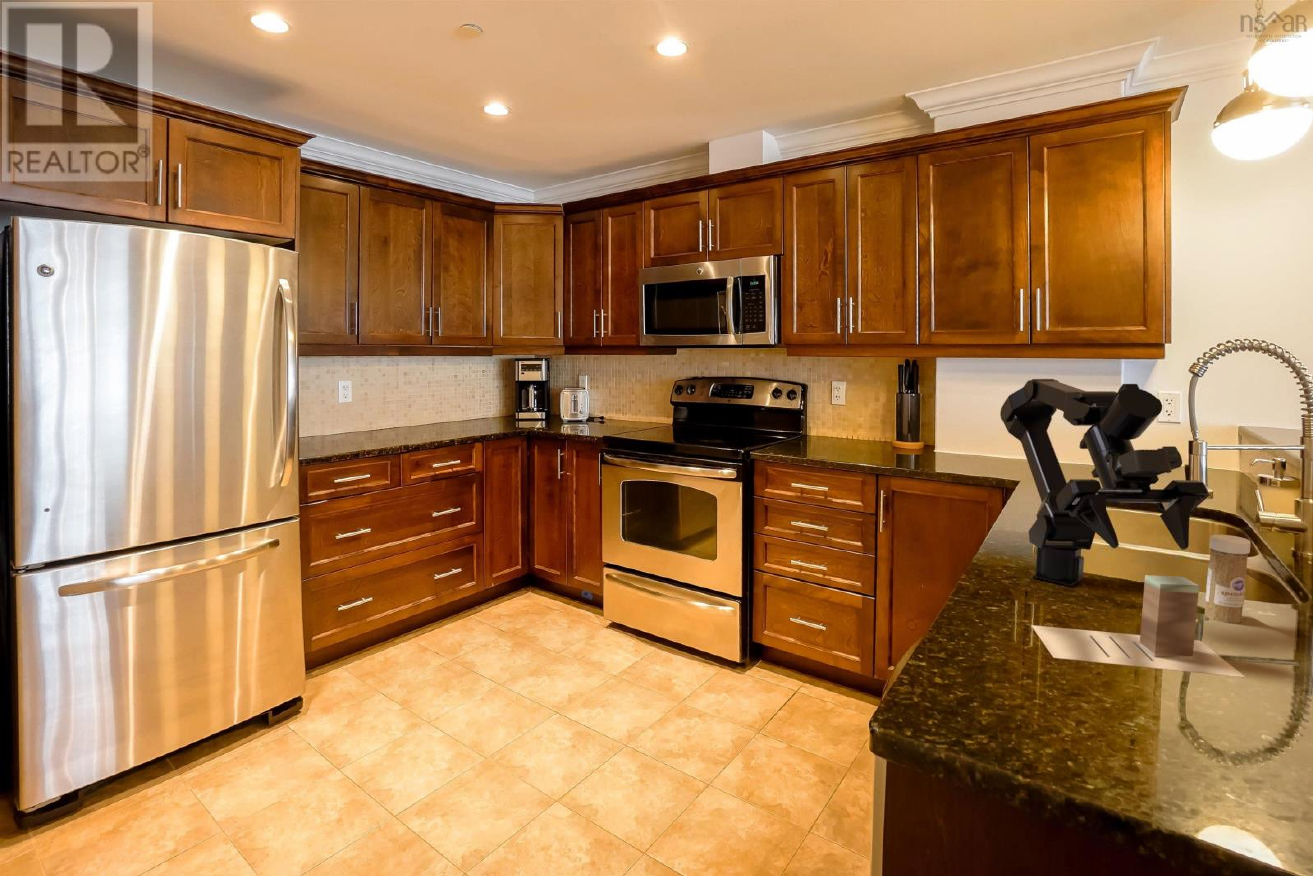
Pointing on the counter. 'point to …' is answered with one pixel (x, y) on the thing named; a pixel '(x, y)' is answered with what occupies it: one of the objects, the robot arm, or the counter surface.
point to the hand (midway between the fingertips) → (1150, 547)
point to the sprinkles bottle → (1226, 578)
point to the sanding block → (1169, 616)
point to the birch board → (1126, 651)
